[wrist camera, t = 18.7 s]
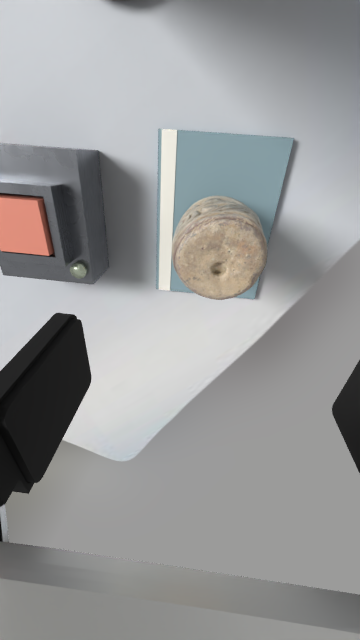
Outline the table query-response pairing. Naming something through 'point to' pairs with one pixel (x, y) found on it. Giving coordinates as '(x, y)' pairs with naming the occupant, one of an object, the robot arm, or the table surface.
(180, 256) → the carving
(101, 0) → the table surface
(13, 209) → the button
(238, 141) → the mat
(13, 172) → the breaker box
